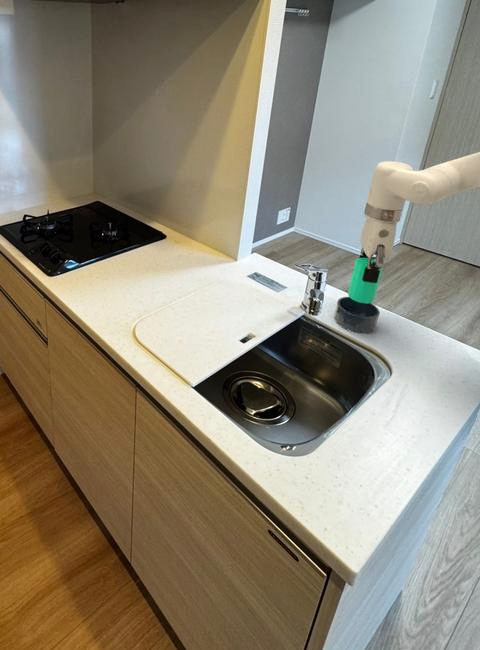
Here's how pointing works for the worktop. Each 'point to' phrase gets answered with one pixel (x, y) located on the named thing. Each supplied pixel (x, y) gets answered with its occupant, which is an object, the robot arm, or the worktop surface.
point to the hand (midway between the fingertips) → (366, 274)
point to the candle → (362, 283)
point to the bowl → (356, 315)
